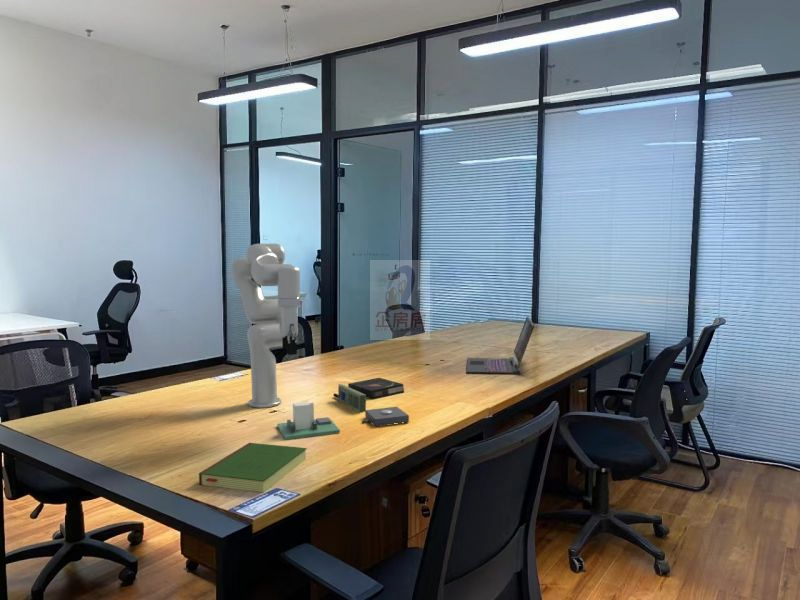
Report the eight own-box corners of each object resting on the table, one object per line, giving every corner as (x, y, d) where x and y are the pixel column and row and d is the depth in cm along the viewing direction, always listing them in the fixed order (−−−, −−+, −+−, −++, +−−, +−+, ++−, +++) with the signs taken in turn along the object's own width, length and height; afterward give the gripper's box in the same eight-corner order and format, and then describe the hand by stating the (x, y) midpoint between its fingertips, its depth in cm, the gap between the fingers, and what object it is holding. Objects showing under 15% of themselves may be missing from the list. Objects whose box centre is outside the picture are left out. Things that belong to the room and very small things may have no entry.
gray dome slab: (356, 418, 208) (356, 410, 208) (396, 413, 213) (396, 405, 213) (366, 427, 197) (366, 419, 196) (408, 422, 202) (408, 414, 202)
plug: (293, 426, 196) (292, 403, 195) (312, 424, 198) (311, 401, 197) (295, 430, 192) (294, 406, 191) (315, 427, 194) (314, 404, 194)
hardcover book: (249, 454, 174) (249, 442, 174) (307, 460, 169) (306, 448, 168) (197, 488, 150) (197, 474, 150) (262, 496, 145) (261, 481, 144)
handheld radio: (359, 413, 215) (330, 398, 237) (367, 412, 217) (338, 397, 238) (359, 395, 215) (330, 382, 236) (367, 394, 217) (338, 381, 238)
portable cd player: (372, 400, 233) (372, 390, 233) (348, 392, 246) (348, 383, 246) (404, 393, 244) (404, 384, 243) (379, 386, 257) (379, 377, 256)
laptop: (467, 360, 312) (467, 316, 310) (527, 361, 308) (528, 316, 306) (466, 375, 278) (466, 325, 276) (534, 376, 274) (534, 325, 272)
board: (277, 426, 200) (277, 417, 199) (328, 420, 206) (328, 412, 206) (284, 439, 186) (284, 430, 185) (339, 432, 192) (339, 423, 192)
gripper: (274, 299, 206) (274, 346, 209) (282, 306, 190) (282, 357, 193) (295, 298, 209) (295, 345, 211) (305, 305, 193) (305, 356, 195)
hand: (289, 351), depth 202 cm, fingers open, 9 cm apart
